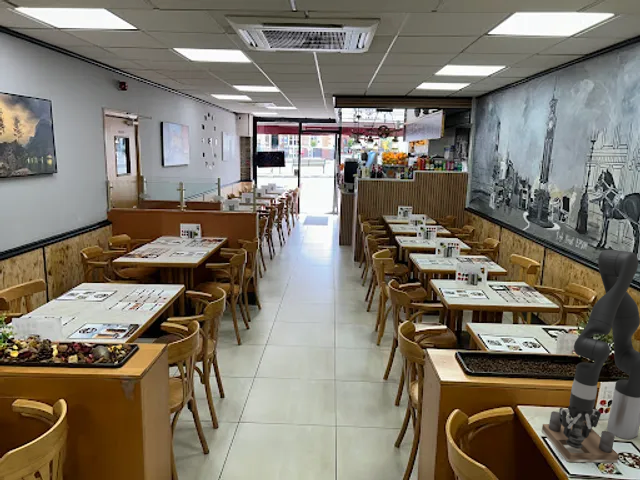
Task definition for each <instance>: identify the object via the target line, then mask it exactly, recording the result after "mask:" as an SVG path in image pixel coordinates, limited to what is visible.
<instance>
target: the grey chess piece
mask: <svg viewBox="0 0 640 480" xmlns="http://www.w3.org/2000/svg"><path fill="white" fill-rule="evenodd" d="M582 424H583V419H579V420H578V421H576V423H575V424H573V426H572V430H571V432H570V437H569V438H568V439H567V440H566V443H567V444H568V445H569V446H571V447H573V448H577V449H580V448H582V447H583V446H582V444H581V443H582V442H583V441H584V439H585V436H584V435H583V434H582V433H581V431H582V428H583V425H582Z"/></svg>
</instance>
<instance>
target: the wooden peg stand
mask: <svg viewBox="0 0 640 480" xmlns="http://www.w3.org/2000/svg"><path fill="white" fill-rule="evenodd" d="M591 416H592V414H591V415H590V416H589V419H590V418H591ZM582 425H584V422H583V424H582ZM572 426H573V425H572ZM571 430H572V427H571ZM582 430H583V428H582ZM563 431H564V427H563V426H562V424H561V423H560V422H559V412H558V411H555V410H554V411H551V412H550V417H549V423H543V424H542V426H541V432H542V434H544V436H545V437H546V438H547V439H548V440H549V442H550V443H551V444H552V446H553V447H554V448H555V449H556V450H557V452H559V453H561V454H560V455H561V456H562V457H563V458H564V459H565V461H566V462H567V463H615V464H616V463H618V461H619V458H620V457H619V455H620V454H618V452H617V451H616V450H614V449H613V446H614V442H615V437H616V436H615V435H614V434H613V433H611V432H609V431H608V430H602V431H601V434H600V435H599V434H598V433H597V432H596V430H594V429H593V427H591V429H590V432H589V436H588V437H587V438H585V439H584V441H583V442H582V443H581V444H582V446H583V447H582V448H580V449H577V448H573V447H571V446H569V445H568V444H567V443H566V440H567V439H568V438H567V437H566V436H565V435H564V433H563ZM581 433H582V431H581Z"/></svg>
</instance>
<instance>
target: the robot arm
mask: <svg viewBox="0 0 640 480" xmlns="http://www.w3.org/2000/svg"><path fill="white" fill-rule="evenodd" d="M597 262H598V263H597V264H598V265H597V266H598V270H599V274H600V277H601V278H600V279H601V281H602V284H603V288H604V293H605V294H604V295H602V296H601V297H600V298H599V299H598V300H597V301H596V302H595V303H594V305H593V307H592V309H591V312H590V315H589V318H588V321H587V323H586V325H585V326H584V328H583V330H582V331H581V333H580V334H579V336H578V337H577V339H575V341H574V344H573V350H574V353H575V354H576V355H577V356H579V357H582V358H585V359H588V360H591V361H593V362H582V361H581V362H578V363H577V365H576V367H575V373H574V379H573V380H572V381H573V382H572V384H571V385H572V386H571V390H570V396H569V406H568V407H567V408H563V407H559V422H560V423H561V424H562V426H563V427H564V431H563V433H564V435H565V436H566V437H567V438H569V437H570V432H571V427H572V425H573V424H575V423H576V421H578V420H579V419H583V422H584V425H583V430H582V434H583V435H584V436H585V438H587V437H588V436H589V432H590V429H591V427H592V428H596V427H597V426H598V423H599V421H600V418H601V415H602V413H601V412H600V411H599V410H598V409H597V408H595V403H596V399H597V398H596V397H597V393H598V385H599V384H598V382H599V378H600V374H601V371H602V369H603V366H604V365H605V362H606V361H607V360H608V358H609V356H610V354H611V347H610V345H609V344H608V342H605V341H602V340H600V339H596V338H592V336H594V335H602V336H603V335H609V334H610V332H612V338H613V356H614V357H613V358H614V363H615V366H616V367H617V368H618V369H619V370H620V371H622V372H623V373H625V374H627V375H629V377H628V379H623V378H622V379H618V380H617V381H615V385H614V389H613V390H614V391H613V396H612V400H611V406H610V410H609V416H608V421H607V425H606V430H607V431H609V432H611V433H613V434H614V435H615V437H618V438H620V439H626V440H632V439H634V438H636V437H638V435H639V431H640V430H639V429H640V352H639V351H637V350H635V348H634V346H633V341H632V340H633V339H632V337H633V335H634V334H635V333H636V331H637V330H638V328H639V327H640V312H639V307H638V304H637V303H636V301H635V300H634V299H633V297H632V296H631V295H630V293H628V290H629V288H630V286H631V284H632V282H633V279H634V278H635V276H636V273H637V271H638V268H639V258H638V256H637V254H636V252H635V253H634V252H632V251H628V250H627V251H625V250H618V249H603V250H602V251H600V254H599V256H598V260H597ZM611 330H612V331H611ZM591 414H592V416H591V418H590V419H589V416H590V415H591Z"/></svg>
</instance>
